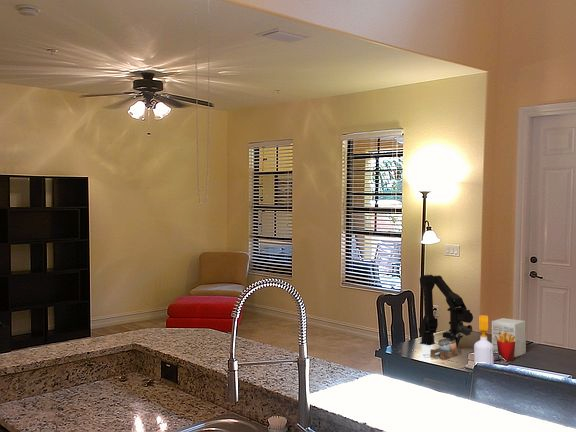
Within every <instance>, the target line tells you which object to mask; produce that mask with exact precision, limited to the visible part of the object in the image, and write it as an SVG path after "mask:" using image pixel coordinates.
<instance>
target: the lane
mask: <svg viewBox="0 0 576 432" xmlns="http://www.w3.org/2000/svg"><path fill="white" fill-rule="evenodd" d="M436 349H440V347H438V348H435V349H430V353H429V354H430V355H429V356H430V358H433V359H436V358H437V356H436V355H435V353H436ZM460 355H462V348H459V347H458V348H457V349H456V350H453V351H450V352H447V353H445V352H444V351H440V356H439V360H443V361H444V360H449V359H452V358H454V357H458V356H460Z"/></svg>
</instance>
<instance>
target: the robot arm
mask: <svg viewBox="0 0 576 432" xmlns="http://www.w3.org/2000/svg"><path fill="white" fill-rule="evenodd" d="M419 285H420V288H422V290H423V307H424V316H423V317H422V320H421V325H420V326H419V327H418V333H419V334H420V336H421V337H420V339H421V341H420V342H419V344H423V345H427V346H431V345H434V344H436V342H435V336H434V335H435V334H436V333H437V329H438V326H439V323H438V317H437V318H436V317H435V315H434V298H433V297H434V295H433V289H434V288H435V285H436V286H437V288H438V289H439V291H440V292H441V294H442V295H443V296H444V297H445V302H446V304H447V305H448V308H447V309H446V311H447V312H449V321H448V325H449V329H448V330H447V331H444V332H443V333H442V339H446V338H450V339H454V338H455V339H456V346H457V349H459V344H460V342H461V339H463V338H464V336H466V337H468V336H470V335H471V334H472V333H473V331H474V330H473V326H472V325H471V324H470V323H472V321H473V319H474V315H473V313H472V312H471V310H470V309H468V308H467V306H466V304H465V302H464V300H463V298H462V297H461V296H460V295H459V294H457V293H455V292H454V291H453V290H452V289H451V288H450V286H449V284H447V283H446V282H445V280H444V279H443V277H442V275H433V274H424V275H423V274H422V275H421V276H420V277H419ZM464 323H467V324H468V325H464Z"/></svg>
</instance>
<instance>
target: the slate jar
mask: <svg viewBox="0 0 576 432" xmlns="http://www.w3.org/2000/svg"><path fill="white" fill-rule="evenodd" d="M437 343H438V346H439V347H438V348H440V349H443V350H448V352H450V351H451V347H450V342H449V340H448V339H446V338H442V339H439V340H438V341H437Z"/></svg>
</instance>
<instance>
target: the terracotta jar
mask: <svg viewBox="0 0 576 432" xmlns="http://www.w3.org/2000/svg"><path fill="white" fill-rule="evenodd" d="M445 339H448V340H449V342H450V347H451V351H453V350H456V349H458V348H457V346H456V339H455V338H454V339H450V338H445Z"/></svg>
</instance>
